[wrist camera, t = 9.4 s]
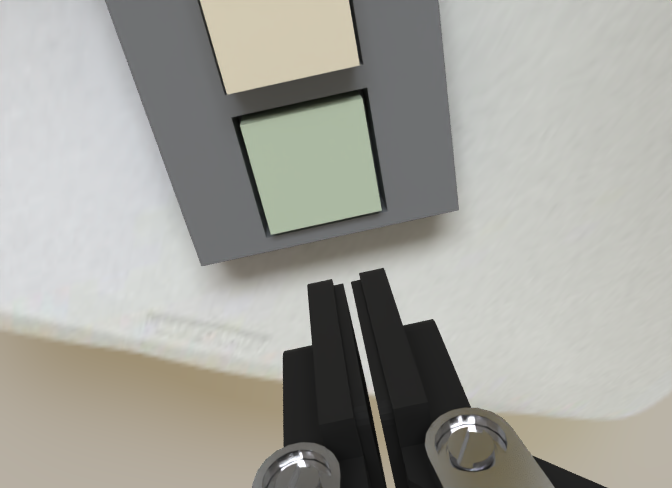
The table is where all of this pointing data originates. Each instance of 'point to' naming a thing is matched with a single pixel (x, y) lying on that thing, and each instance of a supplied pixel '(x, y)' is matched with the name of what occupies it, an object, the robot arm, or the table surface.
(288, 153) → the sage key
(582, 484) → the robot arm
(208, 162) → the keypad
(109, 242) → the table surface
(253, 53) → the sand key
